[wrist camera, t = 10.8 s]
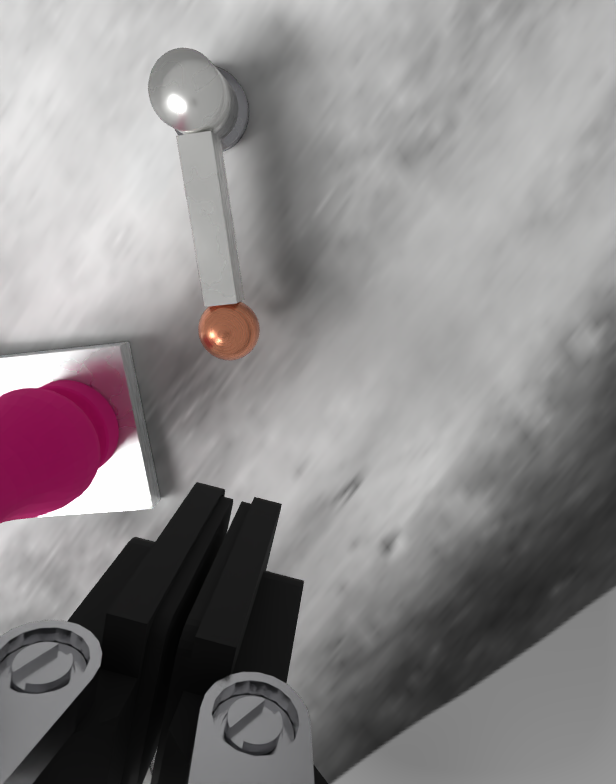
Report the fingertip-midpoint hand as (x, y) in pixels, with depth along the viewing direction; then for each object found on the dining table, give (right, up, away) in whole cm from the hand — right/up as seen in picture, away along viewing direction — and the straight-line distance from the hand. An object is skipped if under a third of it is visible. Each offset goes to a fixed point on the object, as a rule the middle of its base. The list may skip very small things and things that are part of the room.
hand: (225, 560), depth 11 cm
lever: (-3, +13, +22) cm, 26 cm away
